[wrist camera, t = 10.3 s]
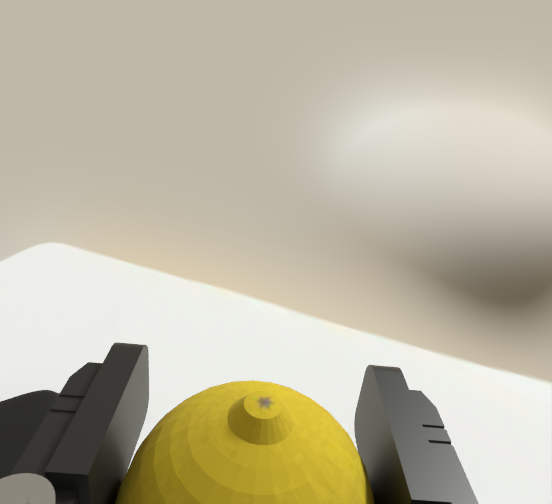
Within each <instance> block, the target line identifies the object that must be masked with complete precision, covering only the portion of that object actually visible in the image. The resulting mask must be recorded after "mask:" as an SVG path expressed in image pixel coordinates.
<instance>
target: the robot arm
mask: <svg viewBox="0 0 552 504" xmlns="http://www.w3.org/2000/svg"><path fill="white" fill-rule="evenodd" d="M148 400H149V366H148V347H147V345H138V344H127V343H114V344H113V346H112V347H111V349H110V351H109V353H108V355H107V357H106V358H105V360H104V362H103V363H91V362H88V363H87V364H86V365H84V366H83V367H82V368H81V369H79V370H78V371H77V372H75V373H74V374H73V375H72V376H70V378H69V379H68V381H67V383H66V384H65V386H64V387H63V389H62V391H61V392H60V394H59V398H57V399H56V400H55V402H54V404H53V405H52V407H51V409H50V413H47V415H46V417H45V418H44V420H43V422H42V423H41V425H40V426H39V428H38V430H37V431H36V433H35V435H34V436H33V438H32V439H31V441H30V443H29V444H28V446H27V448H26V449H25V451H24V452H23V454H22V456H21V457H20V459H19V461H18V462H17V464H16V465H15V467H14V469H13V470H12V472H11V473H10V475H9V476H7V477H4V478H2V479H0V504H115V501H116V498H117V495H118V492H119V489H120V487H121V485H122V482H123V480H124V478H125V475H126V473H127V470H128V467H129V464H130V461H131V458H132V455H133V452H134V450H135V447H136V444H137V441H138V438H139V435H140V432H141V429H142V426H143V424H144V421H145V417H146V413H147V408H148ZM355 438H356V443H357V448H358V453H359V455H360V457H361V459H362V461H363V463H364V464H365V467H366V470H367V474H368V477H369V481H370V485H371V489H372V493H373V497H374V501H375V504H478V502H477V499H476V497H475V495H474V493H473V490H472V488H471V486H470V483H469V481H468V479H467V477H466V474H465V472H464V470H463V468H462V465H461V463H460V461H459V458H458V456H457V454H456V452H455V449H454V447H453V446H451V440H450V438H449V436H448V433H447V431H446V430H444V424H443V422H442V420H441V418H440V415H439V413H438V411H437V408H436V407H435V406H434V405H433V404H432V403H431V401H430V400H429V399H428V398H427V397H426V396H425V395H424V394H423V393H422V392H421V391H416V390H409V389H408V386H407V384H406V381H405V378H404V376H403V373H402V371H401V369H400V368H398V367H386V366H375V365H369V366H368V367H367V369H366V371H365V375H364V379H363V384H362V388H361V392H360V396H359V400H358V404H357V408H356V413H355Z"/></svg>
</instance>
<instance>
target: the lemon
mask: <svg viewBox="0 0 552 504" xmlns="http://www.w3.org/2000/svg"><path fill="white" fill-rule="evenodd" d="M115 504H375V501H374V497H373V493H372V489H371V485H370V481H369V477H368V474H367V470H366V467H365V464H364V463H363V461H362V459H361V457H360V455H359V453H358V451H357V449H356V448H355V446H354V444H353V442H352V440H351V438H350V436H349V435H348V433H347V432H346V431H345V430H344V429H343V428H342V426H341V425H340V424H339V423H338V422H337V421H336V420H335V419H334V417H333V416H332V415H331V414H330V413H329V412H328V411H327V410H325V409H324V408H323V407H321V406H320V405H319V404H317V403H316V402H315V401H313V400H312V399H311V398H309V397H307V396H305V395H303V394H301V393H299V392H297V391H295V390H293V389H291V388H288V387H285V386H281V385H278V384H274V383H270V382H261V381H238V382H230V383H226V384H222V385H218V386H214V387H211V388H208V389H206V390H204V391H202V392H200V393H198V394H196V395H194V396H192V397H190V398H188V399H186V400H184V401H183V402H182V403H180V404H179V405H178V406H176V407H175V408H174V409H173V410H171V411H170V412H169V413H167V414H166V415H165V416H164V417H163V418H162V419H161V420H160V421H159V422H158V423H157V425H156V426H155V427H154V428H153V430H152V431H151V432H150V433H149V435H148V436H147V437H146V438H145V440H144V441H143V442H142V444H141V445H140V447H139V448H138V450H137V452H136V454H135V456H134V458H133V460H132V462H131V465H130V467H129V469H128V471H127V474H126V476H125V478H124V480H123V482H122V485H121V487H120V489H119V492H118V495H117V498H116V501H115Z"/></svg>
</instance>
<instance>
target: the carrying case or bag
mask: <svg viewBox="0 0 552 504" xmlns="http://www.w3.org/2000/svg"><path fill="white" fill-rule="evenodd" d="M57 398H59V393H56V392H53V391H50V390H41V391H35V392H30V393H26V394H23V395H20V396H17V397H14V398H11V399H7V400H4V401H1V402H0V479H2V478H4V477H7V476H9V475H10V473H11V472H12V470H13V469H14V467H15V465H16V464H17V462H18V461H19V459H20V457H21V456H22V454H23V452H24V451H25V449H26V448H27V446H28V444H29V443H30V441H31V439H32V438H33V436H34V435H35V433H36V431H37V430H38V428H39V426H40V425H41V423H42V422H43V420H44V418H45V417H46V415H47V413H50V409H51V407H52V405H53V404H54V402H55V400H56V399H57Z"/></svg>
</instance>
